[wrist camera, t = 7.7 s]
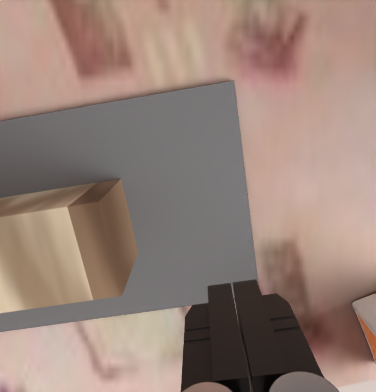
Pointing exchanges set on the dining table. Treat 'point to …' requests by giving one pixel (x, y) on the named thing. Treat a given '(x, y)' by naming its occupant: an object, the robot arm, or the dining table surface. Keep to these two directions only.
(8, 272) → the birch block
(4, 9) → the dining table surface
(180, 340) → the dining table surface
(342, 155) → the dining table surface
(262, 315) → the robot arm
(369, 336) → the skincare box
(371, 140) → the dining table surface
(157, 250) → the mat
